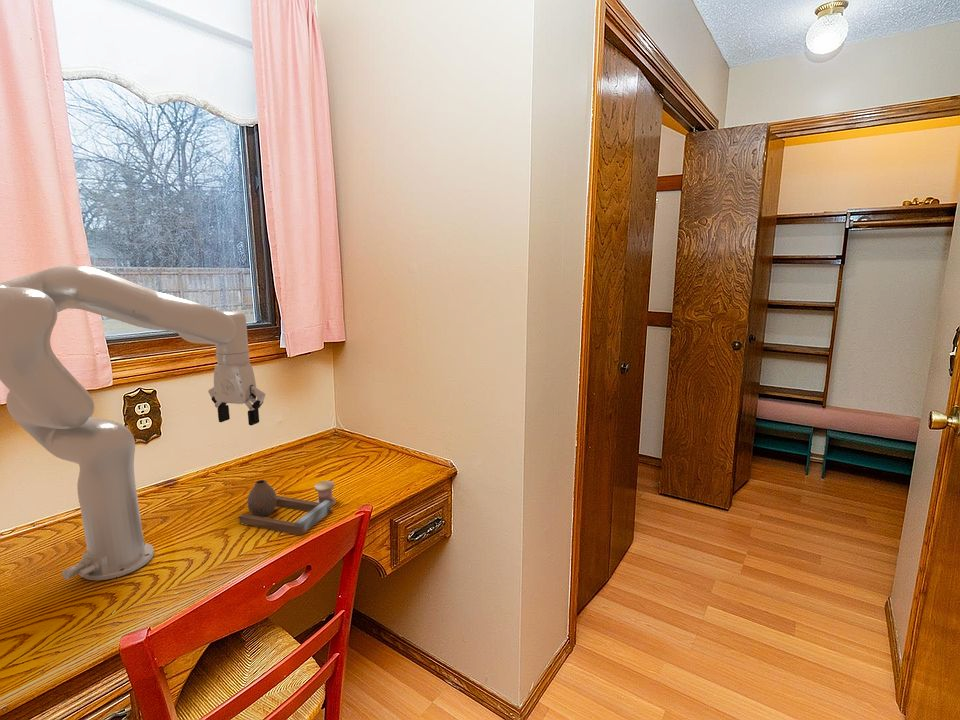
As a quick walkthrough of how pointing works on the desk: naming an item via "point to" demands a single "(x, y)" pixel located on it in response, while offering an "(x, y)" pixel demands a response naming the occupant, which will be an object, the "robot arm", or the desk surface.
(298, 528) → the channel
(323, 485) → the thread spool
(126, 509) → the robot arm
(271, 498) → the vase
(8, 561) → the desk surface
